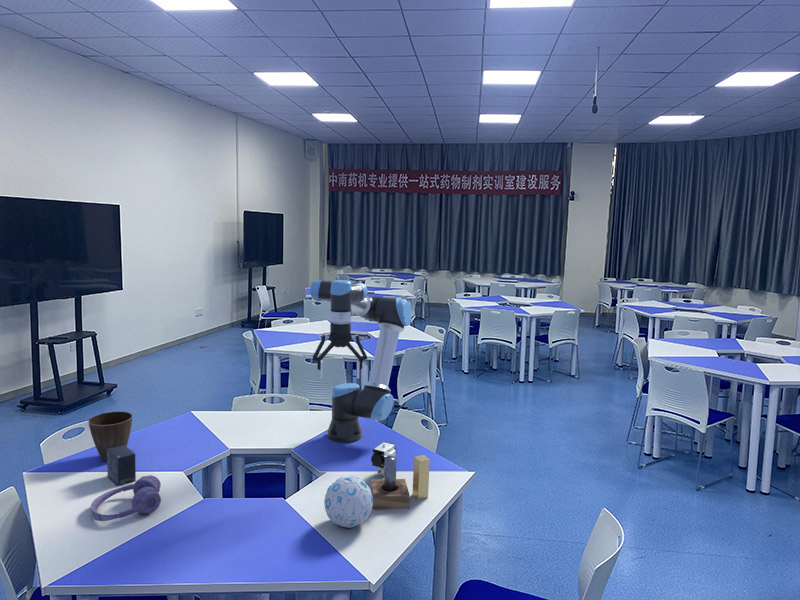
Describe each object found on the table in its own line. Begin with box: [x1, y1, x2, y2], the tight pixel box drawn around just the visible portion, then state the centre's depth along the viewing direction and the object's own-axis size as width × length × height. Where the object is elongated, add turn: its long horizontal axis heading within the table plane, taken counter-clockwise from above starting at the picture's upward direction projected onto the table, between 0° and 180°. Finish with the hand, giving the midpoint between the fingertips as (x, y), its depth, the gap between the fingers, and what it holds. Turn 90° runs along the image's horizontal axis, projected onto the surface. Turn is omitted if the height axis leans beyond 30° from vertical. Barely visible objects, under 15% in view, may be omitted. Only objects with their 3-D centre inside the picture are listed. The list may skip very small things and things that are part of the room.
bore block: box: [370, 478, 410, 510], centre depth 187 cm, size 12×12×4 cm
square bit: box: [412, 454, 431, 501], centre depth 190 cm, size 4×4×14 cm
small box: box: [106, 445, 137, 487], centre depth 195 cm, size 11×6×10 cm, turn 47°
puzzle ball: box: [324, 475, 373, 529], centre depth 171 cm, size 15×15×15 cm
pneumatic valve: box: [370, 441, 397, 477], centre depth 205 cm, size 6×12×12 cm, turn 152°
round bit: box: [383, 456, 398, 492], centre depth 186 cm, size 4×4×14 cm
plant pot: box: [88, 411, 133, 462], centre depth 211 cm, size 15×15×16 cm
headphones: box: [90, 474, 162, 522], centre depth 175 cm, size 18×8×20 cm
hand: (339, 377), depth 205 cm, fingers open, 13 cm apart
